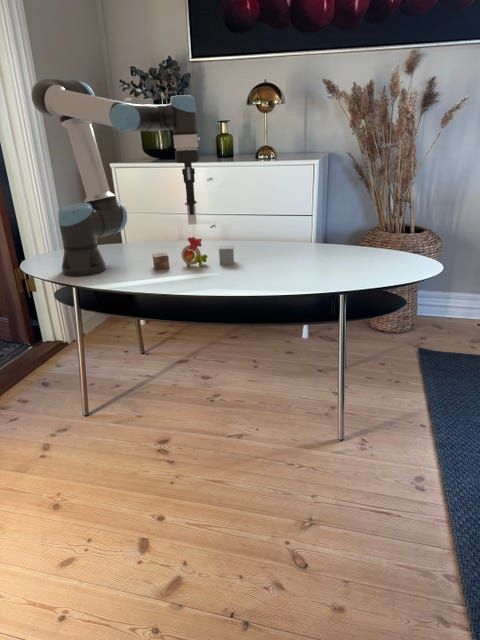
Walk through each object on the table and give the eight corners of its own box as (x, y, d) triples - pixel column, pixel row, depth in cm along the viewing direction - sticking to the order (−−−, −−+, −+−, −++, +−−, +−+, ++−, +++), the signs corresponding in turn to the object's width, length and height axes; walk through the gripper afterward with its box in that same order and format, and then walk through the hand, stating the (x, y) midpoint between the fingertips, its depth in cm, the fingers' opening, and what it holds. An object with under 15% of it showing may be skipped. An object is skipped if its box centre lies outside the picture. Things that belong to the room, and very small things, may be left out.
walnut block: (155, 270, 172) (154, 257, 170) (153, 267, 176) (152, 254, 174) (169, 269, 173) (168, 255, 171) (167, 265, 177) (166, 252, 176)
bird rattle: (186, 273, 174) (208, 264, 171) (172, 246, 171) (194, 235, 168) (191, 269, 180) (212, 259, 177) (177, 242, 177) (198, 232, 174)
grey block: (219, 265, 175) (219, 249, 173) (220, 261, 180) (219, 246, 178) (233, 264, 175) (232, 248, 173) (233, 261, 180) (233, 245, 178)
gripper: (199, 149, 146) (204, 226, 154) (197, 148, 158) (202, 220, 166) (174, 150, 145) (181, 228, 154) (174, 149, 157) (181, 221, 166)
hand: (192, 224), depth 160 cm, fingers closed
